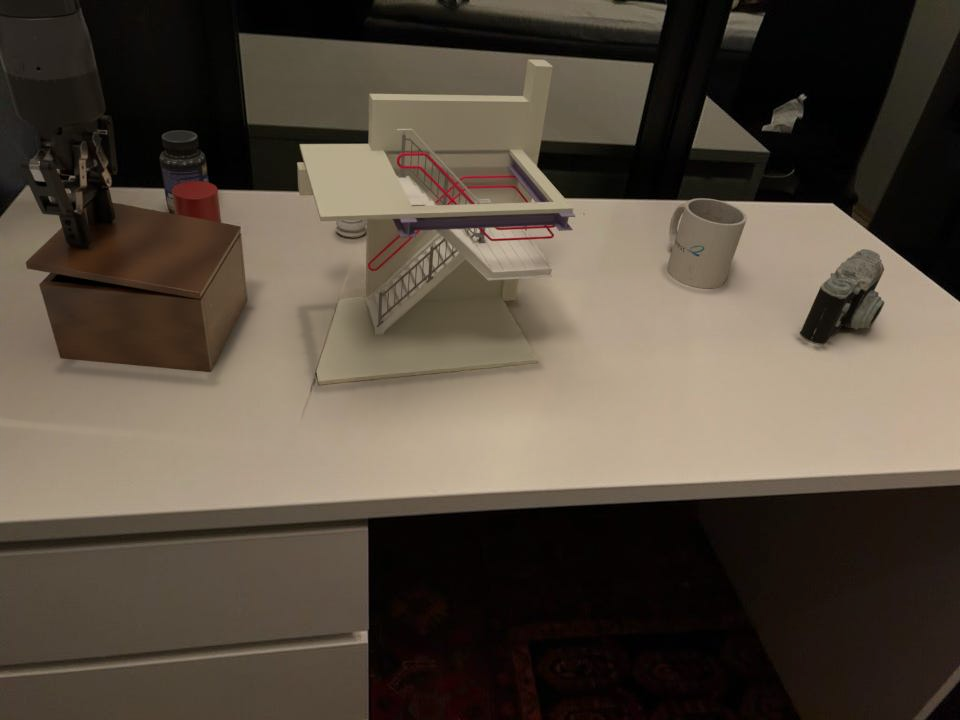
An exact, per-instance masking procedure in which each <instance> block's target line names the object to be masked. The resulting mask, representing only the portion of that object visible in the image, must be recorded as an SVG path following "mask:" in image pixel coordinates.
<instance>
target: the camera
mask: <svg viewBox="0 0 960 720" xmlns="http://www.w3.org/2000/svg"><path fill="white" fill-rule="evenodd" d="M882 261H883V260H882V259H881V255H880V254H879V253H878V252H876V251H874V250H871V249H867V248H866V249H860V250H857V251H856V252H855V253H854V254H852V255H851V256H850V257H848V258H847V259H846V260H845V261H843V262H841V263H840V265H839V266H838V267H837V268H836V270H835V271H834V272H830V274H829V275H830V277H829V278H827V279H826V280H825V281H824V282H823V283H822V284H821V285H820V286H819V290H818V292H817V294H816V296H815V299H814V301H813V303H812V305H811V307H810V309H809V312H808V314H807V316H806V319H805V321H804V323H803V325H802V328H801V330H800V332H799V335H800V337H802V338H803V339H804V340H806V341H807V342H810V343H812V344H815V345H820V346H821V345H823V346H824V345H825V344H826V343H827V342H828V341H829V340H830V339H831V338H832V337H833V336H834V335H835V334H836V333H838V331H839V330H840V329H841V328H842V327H844V328H848V329H849V330H850V329H854V330H859V329H862V330H864V329H870V328H871V327H872V326H873V325H874V323H875V322H876V321H877V318H878V317H879V315H880V313H881V311H882V309H883V307H884V305H885V301H884V300H882V297H881V296H879V294H880V293H879V291H876V288H877V286H878V284H879V282H880V280H881V277H882V276H883V274H884V272H885V266H884V264H883V262H882Z"/></svg>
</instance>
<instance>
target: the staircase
mask: <svg viewBox="0 0 960 720" xmlns="http://www.w3.org/2000/svg"><path fill="white" fill-rule="evenodd" d="M553 69H554V66H553V65H552V64H551V63H549V62H548V61H547V60H546V59H527V64H526V71H525V78H524V85H523V93H522V95H486V94H485V95H483V94H482V95H476V94H475V95H474V94H472V95H471V94H423V93H422V94H420V93H419V94H416V93H415V94H413V93H412V94H411V93H410V94H409V93H408V94H407V93H369V95H368V140H367V143H299V151H300V155H301V158H302V161H298V162H296V167H297V169H296V170H297V188H298V189H297V190H298V194H299V196H301V197H302V196H303V197H306V196H313V199H314V204H315V207H316V210H317V214H318V218H319V221H320V222H336V221H343V220H365V221H366V243H365V244H366V245H365V246H366V249H365V251H366V252H365V255H366V256H365V260H366V261H365V296H360V297H359V296H358V297H344V298H338V299H337V302H336V306H335V309H334V312H333V315H332V318H331V321H330V324H329V327H328V331H327V334H326V336H325V337H326V338H325V340H324V343H323V347H322V350H321V353H320V356H319V358H318V362H317V365H316V368H315V374H316V379H317V384H318V385H319V386H320V385H330V384H331V385H332V384H341V383H349V382H350V383H351V382H361V381H370V380H381V379H389V378H391V379H392V378H401V377H410V376H421V375H430V374H439V373H451V372H461V371H470V370H480V369H481V370H482V369H491V368H501V367H511V366H519V365H521V366H522V365H532V364H538V360H539V359H538V357H537V356H536V354H535V352H534V350H533V348H532V347H531V345H530V344H529V342H528V340H527V338H526V337H525V335H524V333H523V332H522V330H521V328H520V327H519V325H518V323H517V321H516V320H515V317H513V315H512V313H511V311H510V310H509V307H508V306H507V304H506V302H511V301H512V302H513V301H516V300H517V293H518V288H519V282H520V280H521V279H522V280H523V279H538V278H539V279H540V278H552V277H553V276H552V271H553V270H554V267H553V266H552V265H551V263H550V262H549V261H548V259H547V258H546V256H545V255H544V254H543V252H542V250H540V248H539V247H538V246H537V244H536V243H535V241H534V240H547V239H553V238H554V237H555V234H554V233H553V231H552V230H551V229H554V228H556V229H557V230H558V231H559V232H563V231H564V232H565V231H574V230H573V227H571V225H570V224H569V223H568V222H569V218H575V217H576V214H574V207H573V206H572V205H571V203H569V201H568V200H567V199H566V198H565V196H564V195H562V194H561V192H560V191H559V190H558V189H557V188H556V187H555V186H554V184H553V183H552V182H551V181H550V180H549V179H548V177H547V176H546V175H545V174H544V173H543V172H542V171H541V170H540V168H539V167H538V163H539V158H540V157H539V156H540V150H541V145H542V137H543V131H544V125H545V119H546V113H547V106H548V101H549V96H550V95H549V94H550V88H551V82H552V76H553ZM532 200H533V201H534V202H532ZM535 229H546V230H547V231H548V232H549V234H550V235H549V236H546V235H545V236H530V234H529V233H528V232H527V231H528V230H535Z"/></svg>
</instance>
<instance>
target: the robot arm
mask: <svg viewBox="0 0 960 720" xmlns="http://www.w3.org/2000/svg"><path fill="white" fill-rule="evenodd" d="M82 10H83V9H82V6H81V2H80V0H0V62H1V65H2V68H3V73H4V76H5V81H6V83H7V86H8V91H9V93H10V96H11V99H12V104H13V107H14V110H15V111H14V112H15V114H16V116H17V117H18V118H19V120H21V121H23V122H25V123H26V124H28V125H30V127H32V128H33V129H34V132H35V146H36V147H35V148H36V150H37V151H36V152H37V153H36V154H35V155H34V156H33V158H28V157H22V158H21V159H20V163H19V166H20V169H21V172H22V174H23V176H24V178H25V180H26V182H27V184H28V187H29V189H30V191H31V193H32V195H33V198H34V199H35V201H36V204H37V205H38V208H39V211H40V212H41V214H42V215H47V216H49V215H50V216H58V217H59V221H60V224H61V228H63V232H64V235H65V239H66V242H67V244H68V245H70V246H72V247H84V248H86V247H88V246H89V245H90V244H91V243H92V239H91V236H90V232H89V228H88V224H87V220H86V216H85V212H84V211H83V196H82V191H83V190H84V189H86V187H87V183H91V184H93V185H95V186H96V187H97V188H98V191H99V194H98V196H97V197H96V198H95V208H96V216H97V222H107V223H111V222H112V221H113V220H114V219H115V212H114V208H113V204H112V202H113V199H112V196H111V191H110V187H111V186H112V184H113V180H112V175H117V173H118V171H119V170H118V160H117V149H116V143H115V133H114V132H115V131H114V123H113V118H112V116H111V115H107V114H106V115H104V114H105V113H106V109H107V107H106V102H105V97H104V94H103V88H102V83H101V79H100V74H99V70H98V69H99V68H98V65H97V60H96V55H95V52H94V48H93V47H94V45H93V42H92V38H91V34H90V31H89V29H88V26H87V23H86V20H85V17H84V14H83V11H82ZM61 176H67V177H70V176H75V179H74V180H73V181H72V180H69V179H62V178H61ZM65 189H69V190H70V191H71V199H72V201H70V199H69V197H68V195H67V192H66V190H65Z"/></svg>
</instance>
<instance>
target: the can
mask: <svg viewBox="0 0 960 720" xmlns="http://www.w3.org/2000/svg"><path fill="white" fill-rule="evenodd" d="M208 182H209V181H208ZM208 182H203V181H189V182H184V183H180V184H178V185H176V186H175V187H173V189H172V195H173V201H174V208H175V214H177V215H182V216H188V217H193V218H198V219H204V220H209V221H214V222H220V223H222V216H221V207H220V199H219V198H220V197H219V190H218V187H217V186H216V185H215V184H213V183H211V182H209V183H208Z"/></svg>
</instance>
